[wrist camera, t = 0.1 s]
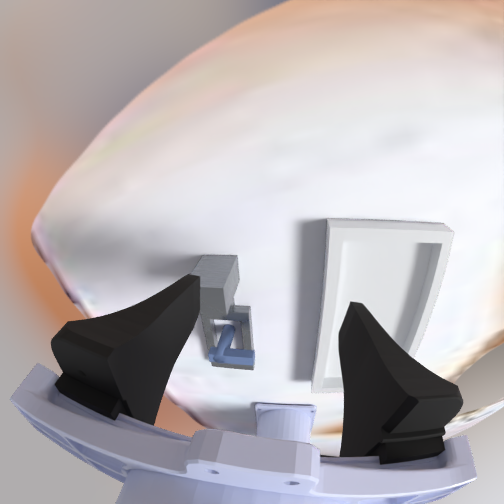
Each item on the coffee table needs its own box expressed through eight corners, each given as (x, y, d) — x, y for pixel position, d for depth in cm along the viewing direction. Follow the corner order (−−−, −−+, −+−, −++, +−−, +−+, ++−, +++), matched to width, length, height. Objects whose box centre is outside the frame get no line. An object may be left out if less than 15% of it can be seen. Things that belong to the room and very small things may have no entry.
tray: (396, 375, 27) (399, 388, 25) (311, 379, 29) (311, 393, 27) (443, 223, 19) (454, 232, 17) (327, 218, 21) (330, 227, 19)
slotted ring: (254, 363, 29) (247, 399, 24) (214, 359, 29) (202, 393, 25) (246, 255, 23) (234, 288, 19) (194, 254, 24) (172, 285, 19)
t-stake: (259, 335, 27) (253, 366, 23) (220, 332, 27) (209, 362, 24) (259, 326, 26) (252, 357, 22) (219, 323, 27) (207, 353, 23)
